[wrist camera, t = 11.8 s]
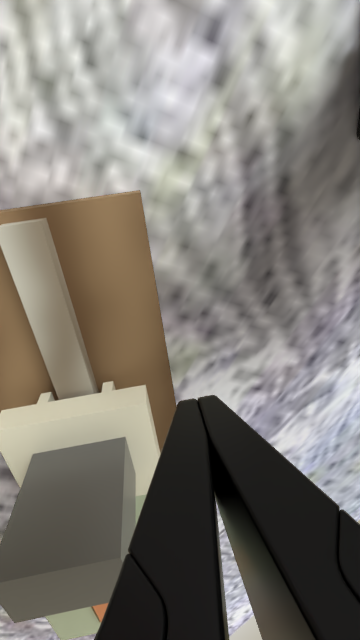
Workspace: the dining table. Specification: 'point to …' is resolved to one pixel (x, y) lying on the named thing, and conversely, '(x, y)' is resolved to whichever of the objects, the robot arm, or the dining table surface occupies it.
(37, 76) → the dining table surface
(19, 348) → the rail track
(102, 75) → the dining table surface
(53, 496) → the carriage
